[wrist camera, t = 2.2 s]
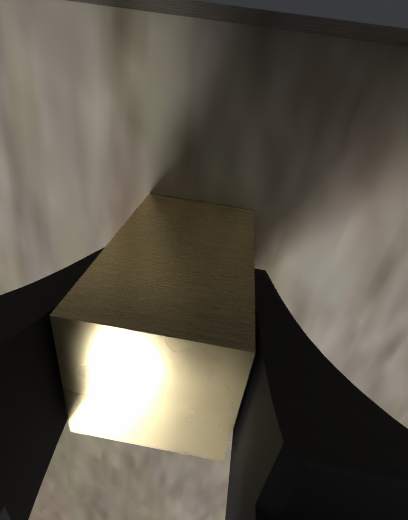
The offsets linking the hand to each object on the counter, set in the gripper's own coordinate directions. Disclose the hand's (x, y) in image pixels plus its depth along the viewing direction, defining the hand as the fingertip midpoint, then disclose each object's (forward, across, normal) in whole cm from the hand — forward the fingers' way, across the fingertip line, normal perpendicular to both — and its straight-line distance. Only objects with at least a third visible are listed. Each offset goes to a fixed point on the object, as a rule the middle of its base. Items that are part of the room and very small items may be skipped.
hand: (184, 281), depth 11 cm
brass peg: (+2, 0, 0) cm, 2 cm away
